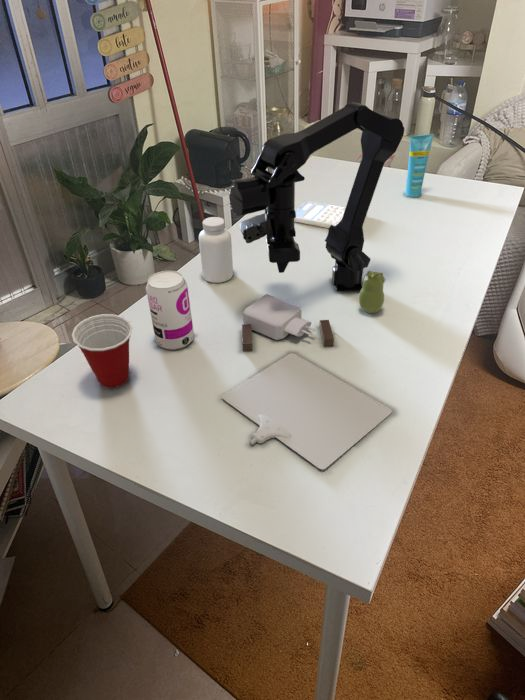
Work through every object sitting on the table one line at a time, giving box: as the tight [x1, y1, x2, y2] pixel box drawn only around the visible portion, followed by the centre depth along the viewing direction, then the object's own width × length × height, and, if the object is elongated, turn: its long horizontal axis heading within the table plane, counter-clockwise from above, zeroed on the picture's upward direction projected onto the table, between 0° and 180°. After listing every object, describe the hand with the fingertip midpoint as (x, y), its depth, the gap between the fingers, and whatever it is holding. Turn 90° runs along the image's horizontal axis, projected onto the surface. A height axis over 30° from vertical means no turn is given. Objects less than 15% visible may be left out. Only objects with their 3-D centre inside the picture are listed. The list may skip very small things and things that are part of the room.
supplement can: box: [145, 270, 195, 351], centre depth 110 cm, size 8×8×15 cm
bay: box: [241, 319, 335, 352], centre depth 113 cm, size 19×7×2 cm, turn 93°
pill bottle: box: [198, 216, 234, 284], centre depth 131 cm, size 8×8×15 cm
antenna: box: [221, 352, 393, 470], centre depth 96 cm, size 25×24×1 cm
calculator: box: [295, 201, 346, 229], centre depth 162 cm, size 13×20×2 cm, turn 62°
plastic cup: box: [71, 313, 134, 389], centre depth 101 cm, size 11×11×12 cm
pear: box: [358, 270, 386, 314], centre depth 118 cm, size 6×5×10 cm
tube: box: [404, 133, 435, 198], centre depth 169 cm, size 7×5×19 cm, turn 104°
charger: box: [242, 293, 316, 341], centre depth 115 cm, size 5×9×15 cm
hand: (281, 271), depth 118 cm, fingers closed
